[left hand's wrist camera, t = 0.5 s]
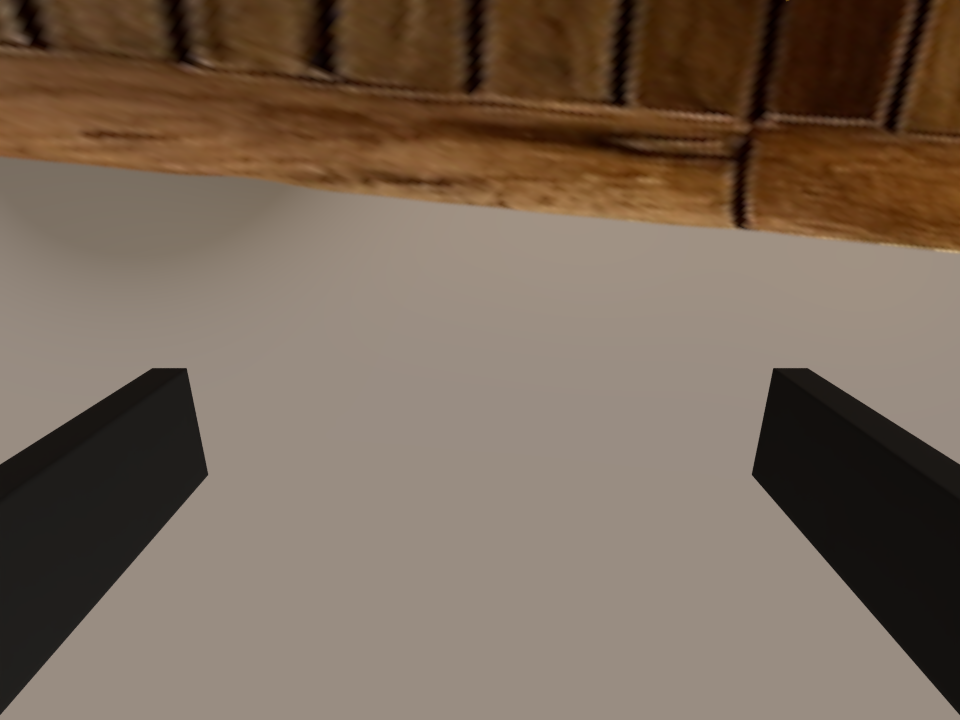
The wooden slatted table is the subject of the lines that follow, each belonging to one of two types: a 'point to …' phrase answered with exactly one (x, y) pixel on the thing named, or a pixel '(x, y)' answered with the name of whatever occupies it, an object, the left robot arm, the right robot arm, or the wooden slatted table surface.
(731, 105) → the wooden slatted table surface
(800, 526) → the left robot arm
